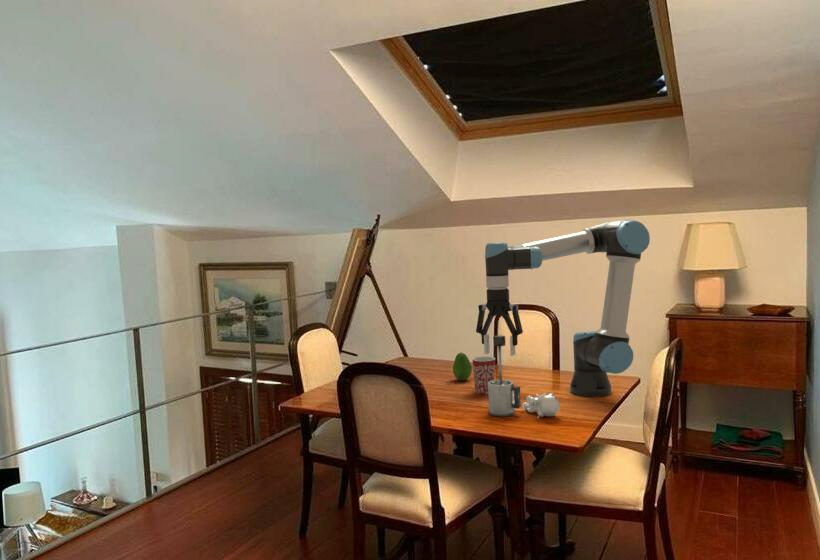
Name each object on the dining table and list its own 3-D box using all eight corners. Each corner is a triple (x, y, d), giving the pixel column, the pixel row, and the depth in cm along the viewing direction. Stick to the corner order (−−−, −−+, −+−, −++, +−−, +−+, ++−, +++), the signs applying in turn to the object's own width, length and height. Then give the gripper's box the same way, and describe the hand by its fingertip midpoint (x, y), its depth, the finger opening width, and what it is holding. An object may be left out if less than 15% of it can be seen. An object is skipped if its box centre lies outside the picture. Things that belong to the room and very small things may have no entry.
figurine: (529, 385, 216) (555, 385, 202) (543, 398, 217) (570, 399, 203) (513, 410, 212) (539, 412, 198) (528, 423, 213) (555, 426, 200)
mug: (499, 394, 235) (498, 359, 234) (475, 396, 234) (474, 361, 233) (491, 386, 248) (490, 353, 247) (469, 388, 247) (468, 355, 246)
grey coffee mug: (524, 411, 212) (523, 381, 211) (514, 418, 204) (513, 387, 203) (494, 408, 217) (493, 378, 217) (484, 415, 209) (483, 384, 209)
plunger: (511, 385, 212) (509, 335, 210) (505, 389, 207) (504, 338, 205) (496, 384, 214) (494, 334, 213) (490, 387, 209) (488, 337, 208)
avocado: (452, 382, 258) (451, 354, 257) (454, 378, 265) (453, 350, 264) (471, 382, 256) (470, 354, 255) (472, 378, 264) (471, 350, 263)
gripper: (531, 287, 206) (533, 353, 208) (473, 287, 217) (475, 350, 218) (524, 289, 200) (526, 358, 201) (464, 289, 210) (466, 354, 212)
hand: (499, 354), depth 210 cm, fingers open, 9 cm apart
